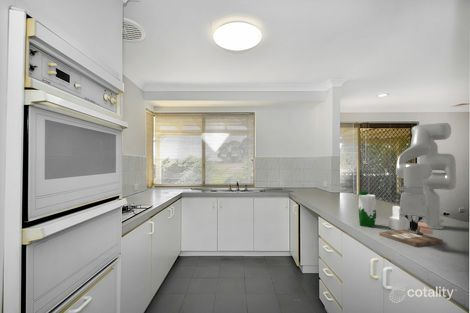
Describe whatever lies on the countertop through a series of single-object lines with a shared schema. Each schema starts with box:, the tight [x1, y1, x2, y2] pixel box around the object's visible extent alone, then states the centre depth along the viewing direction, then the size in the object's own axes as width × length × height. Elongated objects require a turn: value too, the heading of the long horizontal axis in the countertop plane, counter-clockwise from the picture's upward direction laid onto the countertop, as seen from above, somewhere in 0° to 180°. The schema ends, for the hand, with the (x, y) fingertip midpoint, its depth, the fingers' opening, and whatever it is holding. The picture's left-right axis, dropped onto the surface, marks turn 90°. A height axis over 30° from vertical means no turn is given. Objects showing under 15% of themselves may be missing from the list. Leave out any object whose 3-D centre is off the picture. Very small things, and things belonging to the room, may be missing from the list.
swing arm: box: [418, 221, 434, 235], centre depth 115 cm, size 19×4×2 cm, turn 152°
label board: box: [378, 229, 444, 248], centre depth 120 cm, size 18×18×6 cm
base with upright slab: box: [388, 205, 410, 231], centre depth 138 cm, size 9×9×12 cm
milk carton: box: [358, 190, 377, 228], centre depth 145 cm, size 9×9×20 cm
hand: (413, 230), depth 113 cm, fingers closed
